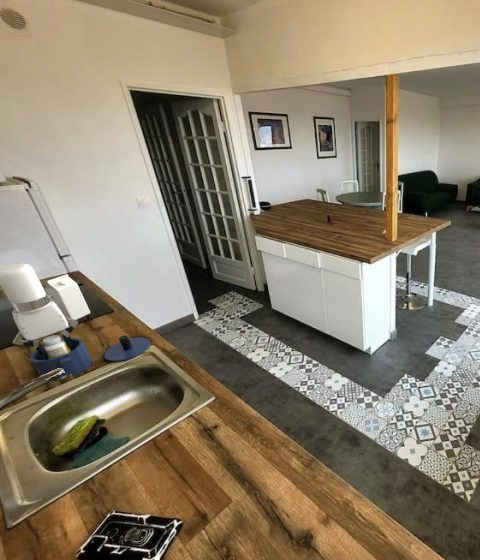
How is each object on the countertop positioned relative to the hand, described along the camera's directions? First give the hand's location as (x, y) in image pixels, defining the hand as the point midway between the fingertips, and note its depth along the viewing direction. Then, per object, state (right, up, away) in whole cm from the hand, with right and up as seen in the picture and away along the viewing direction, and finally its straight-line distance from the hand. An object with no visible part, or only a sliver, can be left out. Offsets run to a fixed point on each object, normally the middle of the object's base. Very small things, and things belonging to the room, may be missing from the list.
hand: (57, 349), depth 103 cm
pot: (0, -8, +4) cm, 8 cm away
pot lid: (+13, -3, +13) cm, 18 cm away
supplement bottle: (0, -5, +2) cm, 5 cm away
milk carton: (-28, +7, +34) cm, 44 cm away
